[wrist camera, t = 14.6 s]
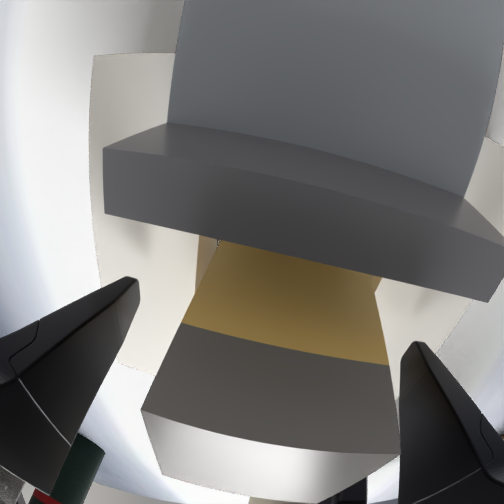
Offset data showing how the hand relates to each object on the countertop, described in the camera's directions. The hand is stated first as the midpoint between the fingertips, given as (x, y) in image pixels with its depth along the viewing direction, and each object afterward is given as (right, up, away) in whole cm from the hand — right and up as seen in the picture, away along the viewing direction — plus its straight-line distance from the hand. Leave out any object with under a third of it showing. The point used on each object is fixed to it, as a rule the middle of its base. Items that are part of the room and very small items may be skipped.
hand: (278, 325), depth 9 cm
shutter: (+1, +7, -3) cm, 8 cm away
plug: (+1, +2, +4) cm, 4 cm away
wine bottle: (-29, -29, +28) cm, 50 cm away
